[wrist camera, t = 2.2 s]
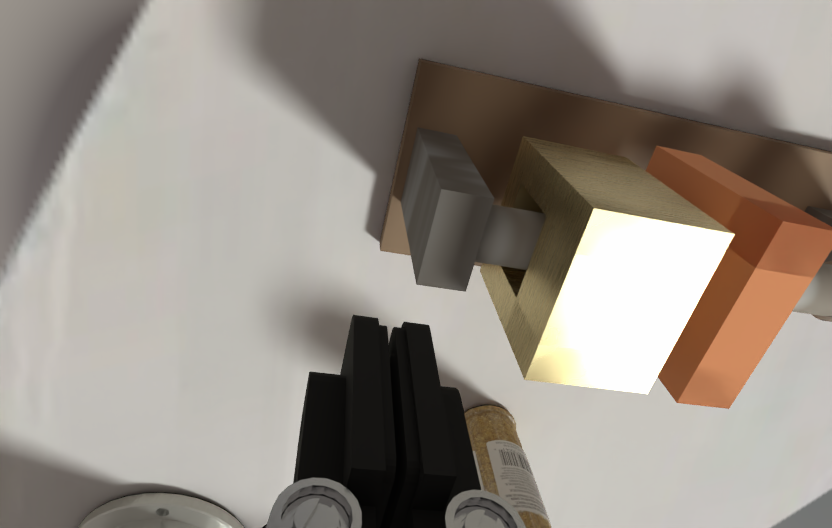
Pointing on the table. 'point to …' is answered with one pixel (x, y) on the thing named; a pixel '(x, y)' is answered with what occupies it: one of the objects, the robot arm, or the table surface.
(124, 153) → the table surface
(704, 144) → the machine model on base
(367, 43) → the table surface
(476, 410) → the sprinkles bottle
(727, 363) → the orange rectangular slab
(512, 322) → the sleeve
